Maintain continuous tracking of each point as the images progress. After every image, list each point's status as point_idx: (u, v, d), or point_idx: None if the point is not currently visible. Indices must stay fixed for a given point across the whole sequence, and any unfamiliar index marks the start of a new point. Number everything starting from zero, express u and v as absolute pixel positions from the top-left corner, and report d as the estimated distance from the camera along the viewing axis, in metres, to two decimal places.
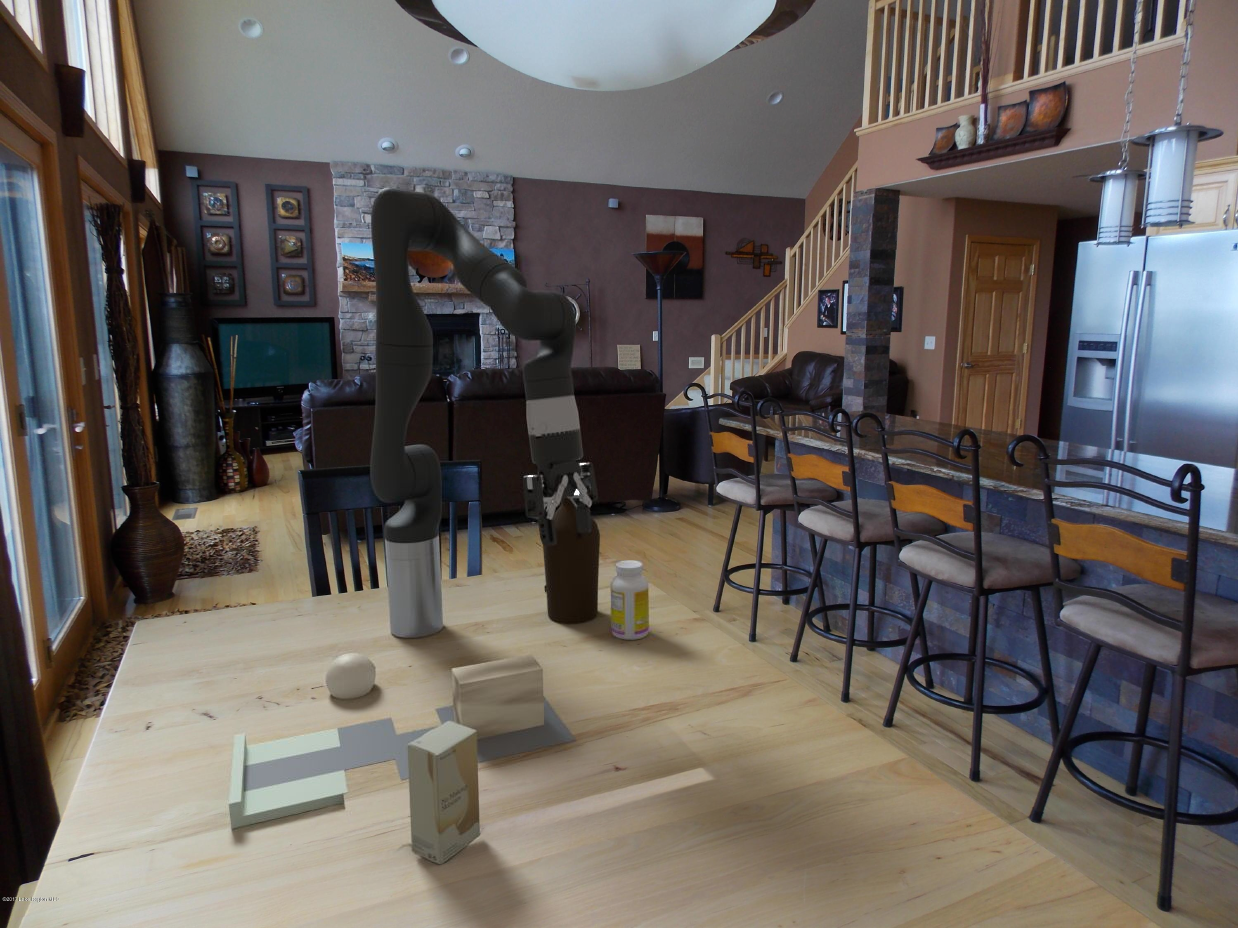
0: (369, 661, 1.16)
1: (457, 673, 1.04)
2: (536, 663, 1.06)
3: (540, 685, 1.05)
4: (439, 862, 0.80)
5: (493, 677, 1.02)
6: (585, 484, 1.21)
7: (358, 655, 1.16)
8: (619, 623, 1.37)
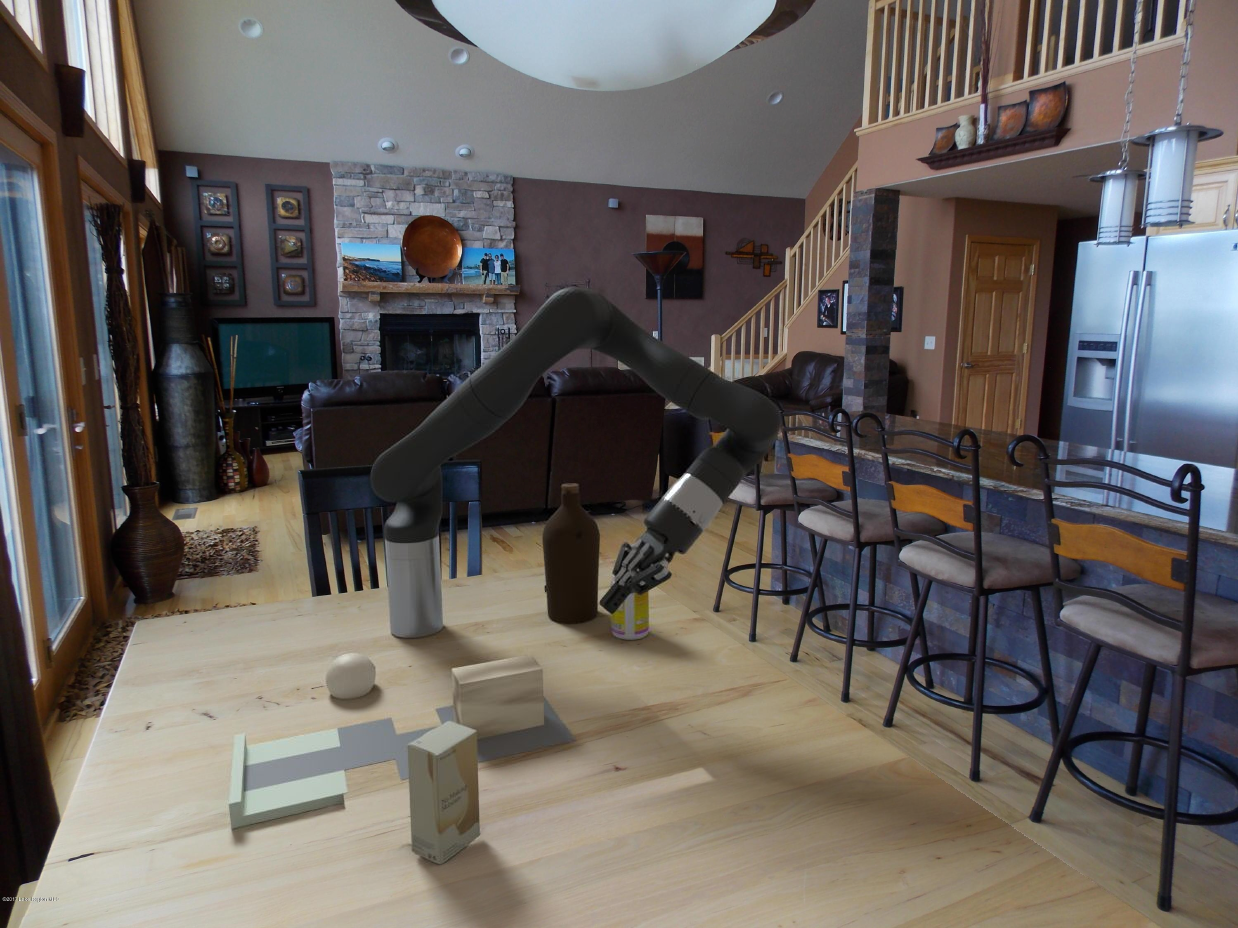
0: (369, 661, 1.16)
1: (457, 673, 1.04)
2: (536, 663, 1.06)
3: (540, 685, 1.05)
4: (439, 862, 0.80)
5: (493, 677, 1.02)
6: None
7: (358, 655, 1.16)
8: (619, 623, 1.37)
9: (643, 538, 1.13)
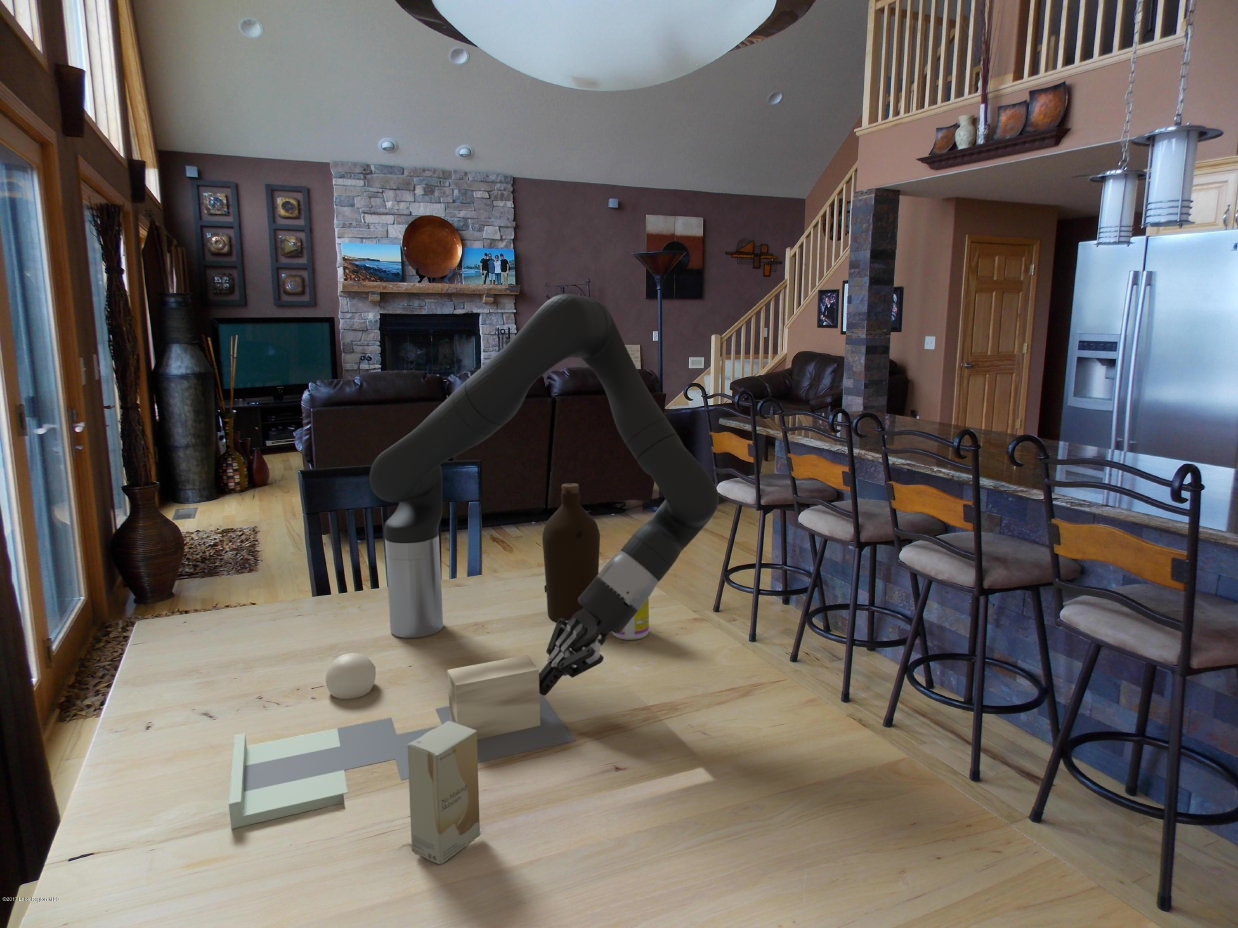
0: (369, 661, 1.16)
1: (453, 674, 1.03)
2: (532, 664, 1.06)
3: (536, 686, 1.05)
4: (439, 862, 0.80)
5: (489, 678, 1.02)
6: None
7: (358, 655, 1.16)
8: None
9: (578, 616, 1.11)
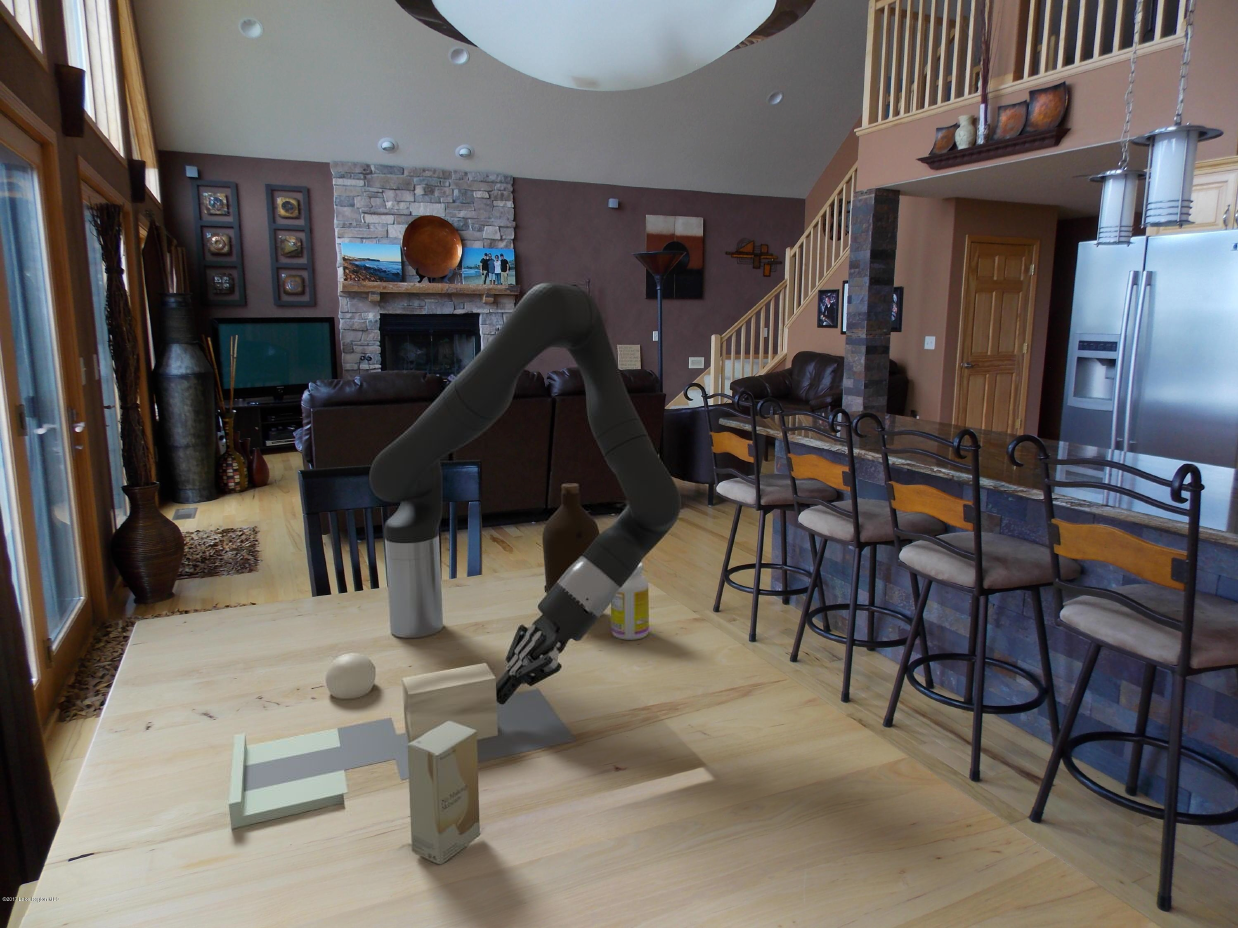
0: (369, 661, 1.16)
1: (407, 682, 1.01)
2: (489, 672, 1.04)
3: (493, 695, 1.02)
4: (439, 862, 0.80)
5: (443, 687, 0.99)
6: None
7: (358, 655, 1.16)
8: (619, 623, 1.37)
9: (538, 623, 1.09)
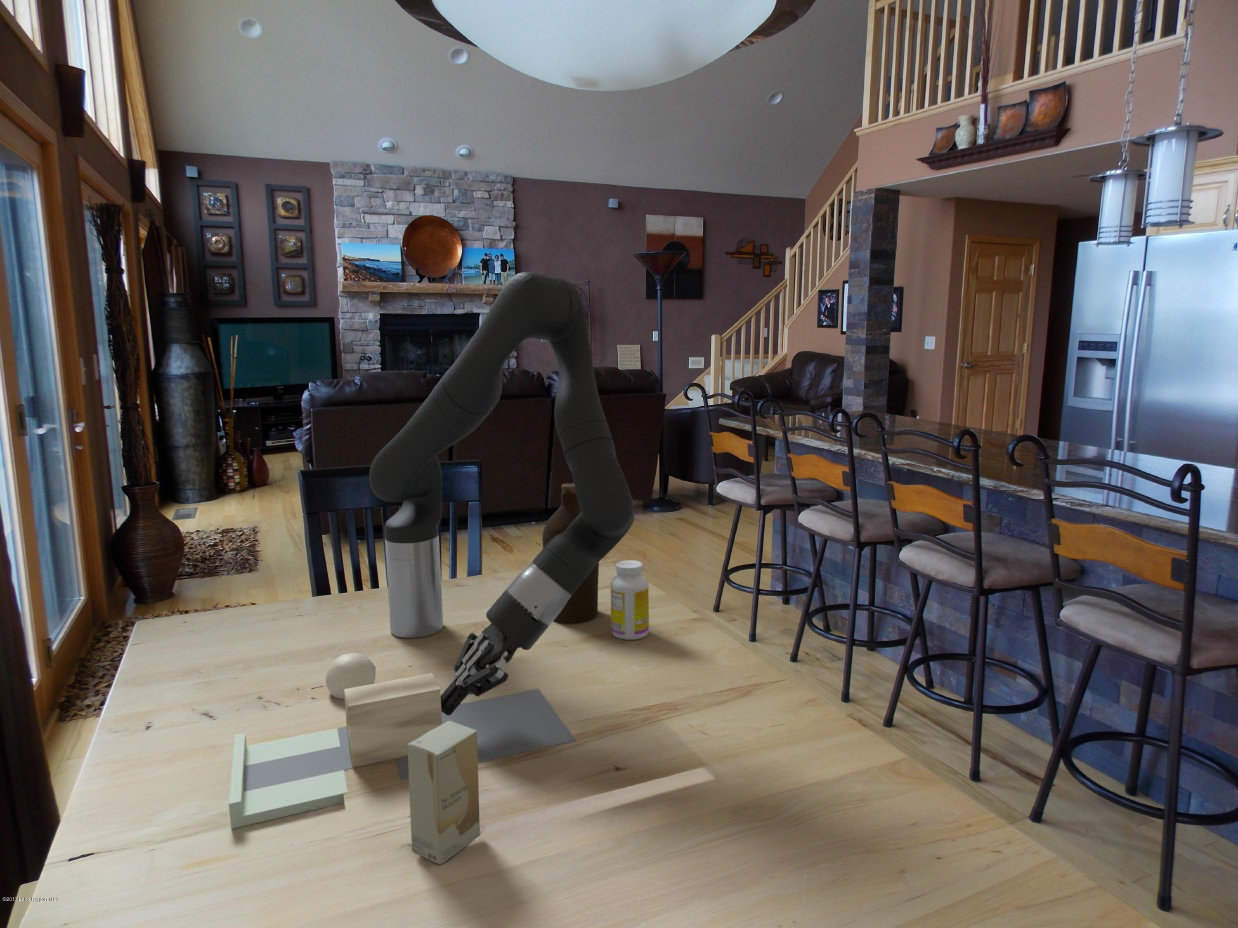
0: (369, 661, 1.16)
1: (348, 694, 0.98)
2: (435, 683, 1.01)
3: (438, 706, 0.99)
4: (439, 862, 0.80)
5: (385, 699, 0.97)
6: None
7: (358, 655, 1.16)
8: (619, 623, 1.37)
9: (487, 631, 1.06)
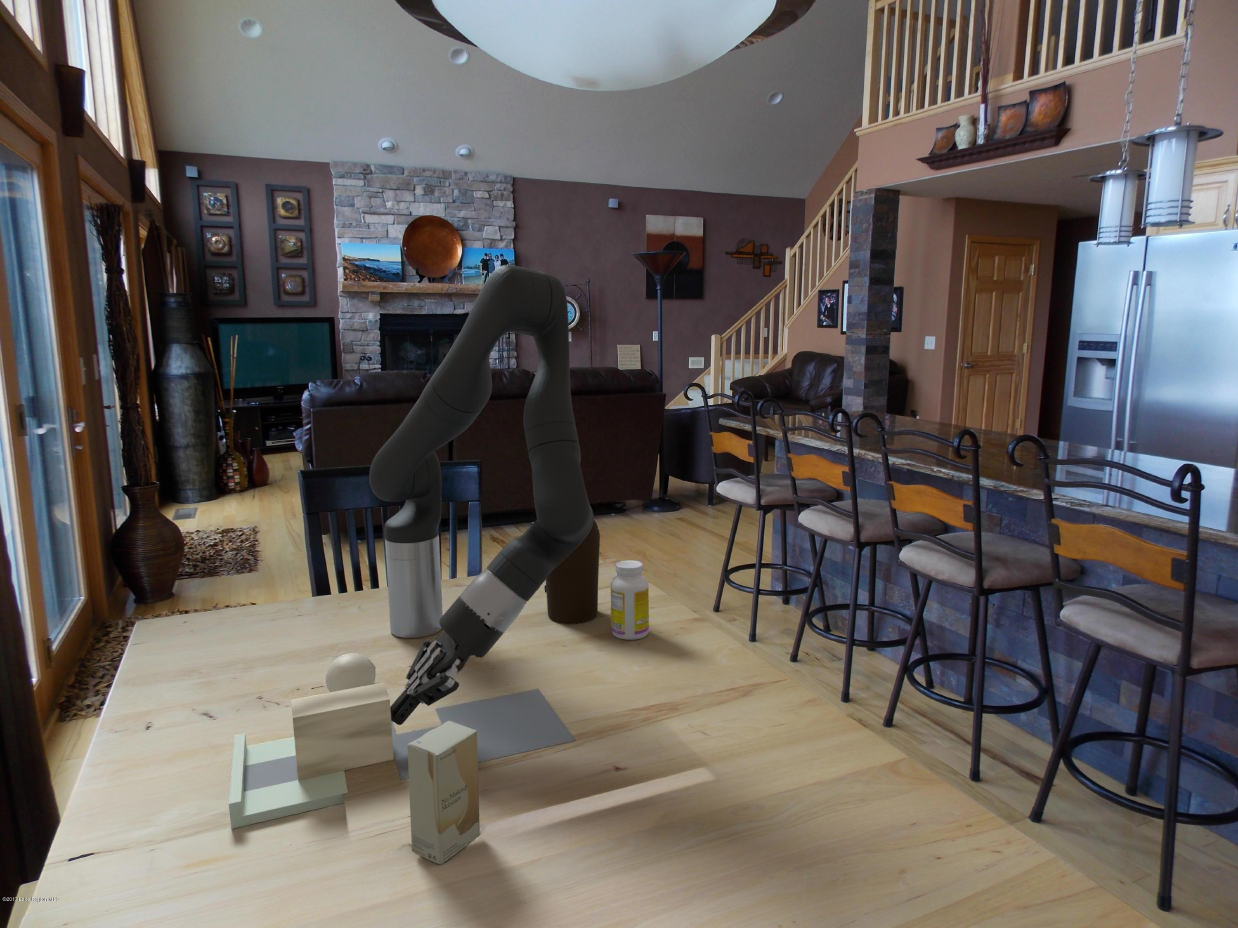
0: (369, 661, 1.16)
1: (295, 704, 0.95)
2: (385, 692, 0.98)
3: (387, 717, 0.97)
4: (439, 862, 0.80)
5: (331, 709, 0.94)
6: None
7: (358, 655, 1.16)
8: (619, 623, 1.37)
9: (441, 638, 1.04)
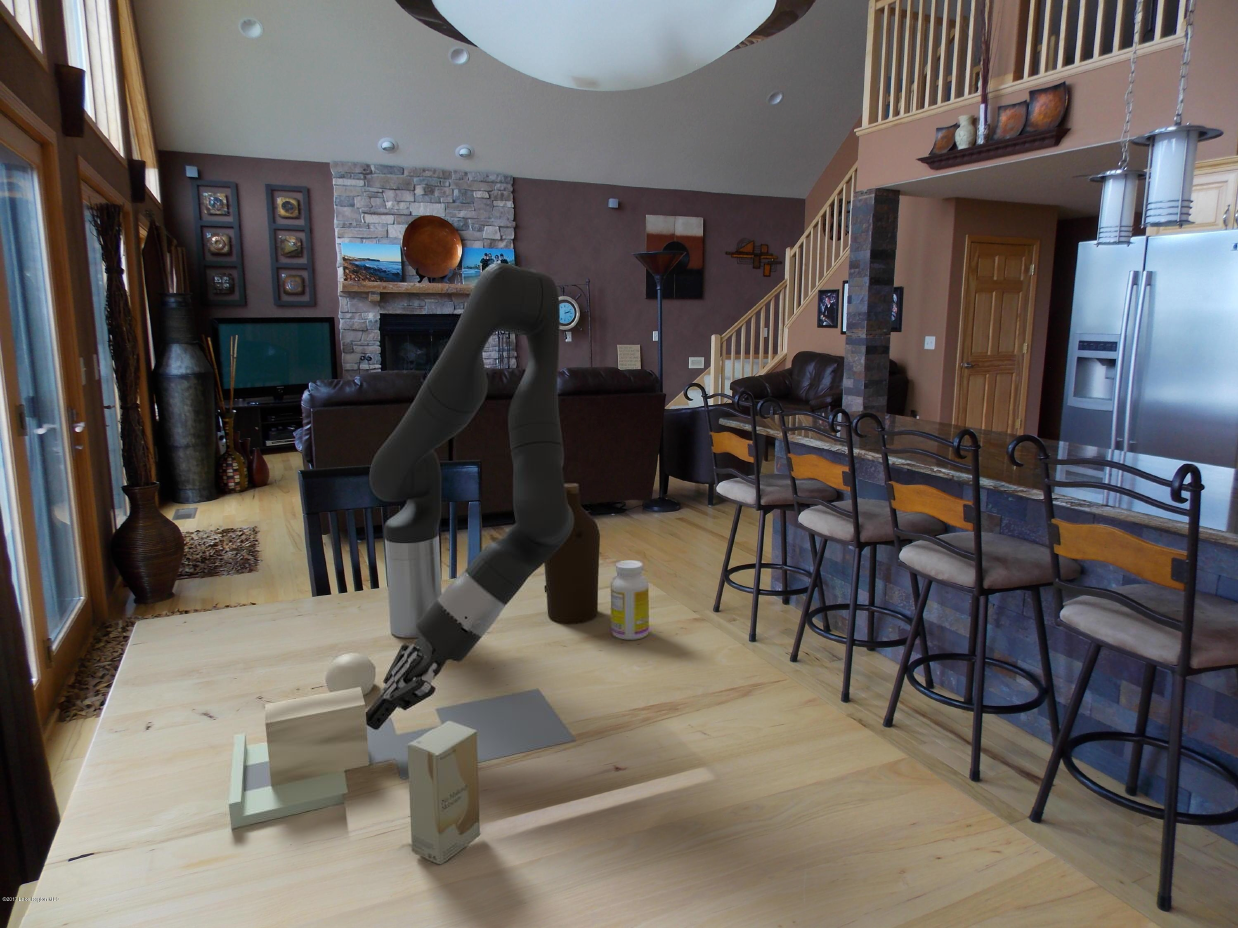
0: (369, 661, 1.16)
1: (268, 709, 0.94)
2: (361, 697, 0.97)
3: (363, 722, 0.96)
4: (439, 862, 0.80)
5: (305, 715, 0.93)
6: None
7: (358, 655, 1.16)
8: (619, 623, 1.37)
9: (419, 642, 1.02)
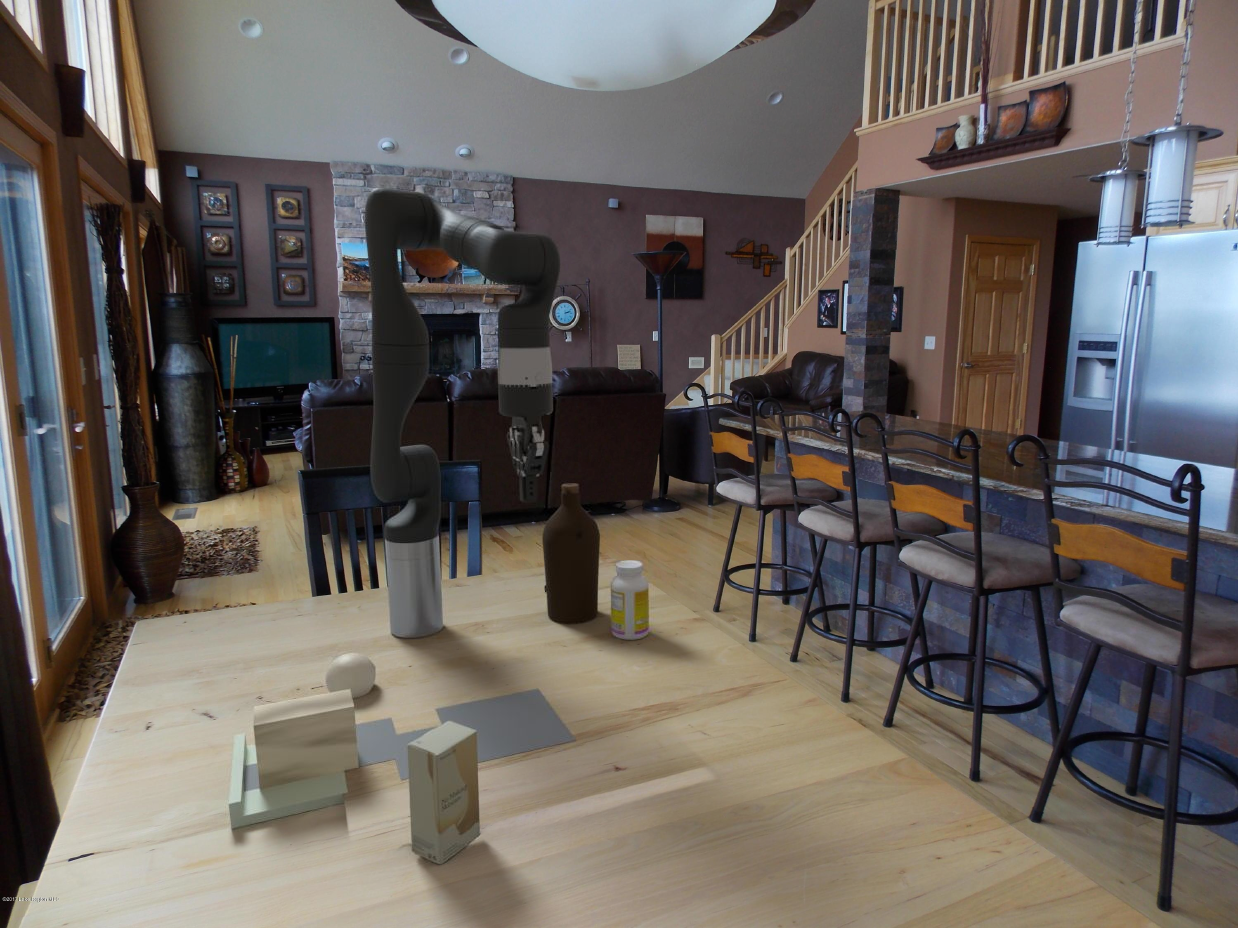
0: (369, 661, 1.16)
1: (257, 712, 0.94)
2: (350, 699, 0.96)
3: (352, 724, 0.95)
4: (439, 862, 0.80)
5: (294, 717, 0.92)
6: None
7: (358, 655, 1.16)
8: (619, 623, 1.37)
9: (514, 423, 1.13)
